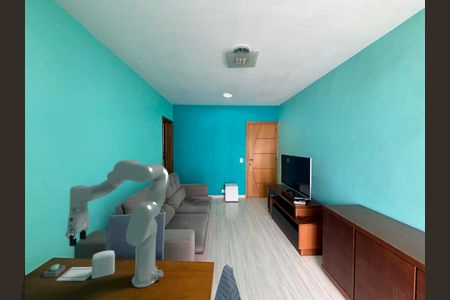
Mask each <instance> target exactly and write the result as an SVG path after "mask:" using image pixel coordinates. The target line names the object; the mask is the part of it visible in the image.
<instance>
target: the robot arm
mask: <svg viewBox="0 0 450 300" xmlns="http://www.w3.org/2000/svg"><path fill="white" fill-rule="evenodd" d="M106 178H107V179H106V180H105V181H103V182H101V183H99V184H94V185H90V186H87V185H83V184H82V185H73V186H71V187H70V189H69V215H68V217H67V218H68V219H67V227H66V228H67V230H66V232H65V235H64V236H65V237H67V238H68V240H69V245H68V246H69V247H77V243H78V242H77V234H78V233H79V240H80V241H85V240H86V239H87V231H88V228H89V226H90V224H91V223H90V222H91V221H90V211H89V209H88V208H89V207H88V206H89V205H88V204H89V202H92V201H95V200H97V199H101V198H103V197H106V196H108V195H110V194H111V193H113V192H115V191H116V190H117V189H118V188H119V187H120V186H121V185H122V184H124V183H126V182H127V181H131V182H136V183H142V184H146V183H151V182H152V183H151V184H150V187H149V188H148V191H147V195H146V198H145V199H144V200H143V201H142V202H140V203H138V205H136V206H135V207H134V208H133V210H132V212H131V216H130V219H129V222H128V225H127V228H126V232H125V239H126V241H127V243H128V245H130V246H133V247H135V271H134V272H135V274H134V275H133V277H132V279H131V283H132V285H133V287H136V288H145V287H149V286H151V285H152V284H154V283H155V282H156V281H157V280H158V278H160V277H161V278H162V277H163V276H164V272H163V269H158V266H157V265H156V245H157V243H156V242H157V231H158V223H157V220H156V218H155V217H157V216H158V215H159V213H160V212H161V209H162V206H163V203H164V200H165V195H166V192H167V189H168V185H169V181H170V177H169V172H168V170H167V168H165V167H164V166H163V165H162V164H160V163H149V164H141V163H140V162H139V161H138V160H136V159H123V160H119V161H117V162H116V163H115V165H114V166H113V169H112V170H111V171H109V172H108V173H107V174H106Z"/></svg>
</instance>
